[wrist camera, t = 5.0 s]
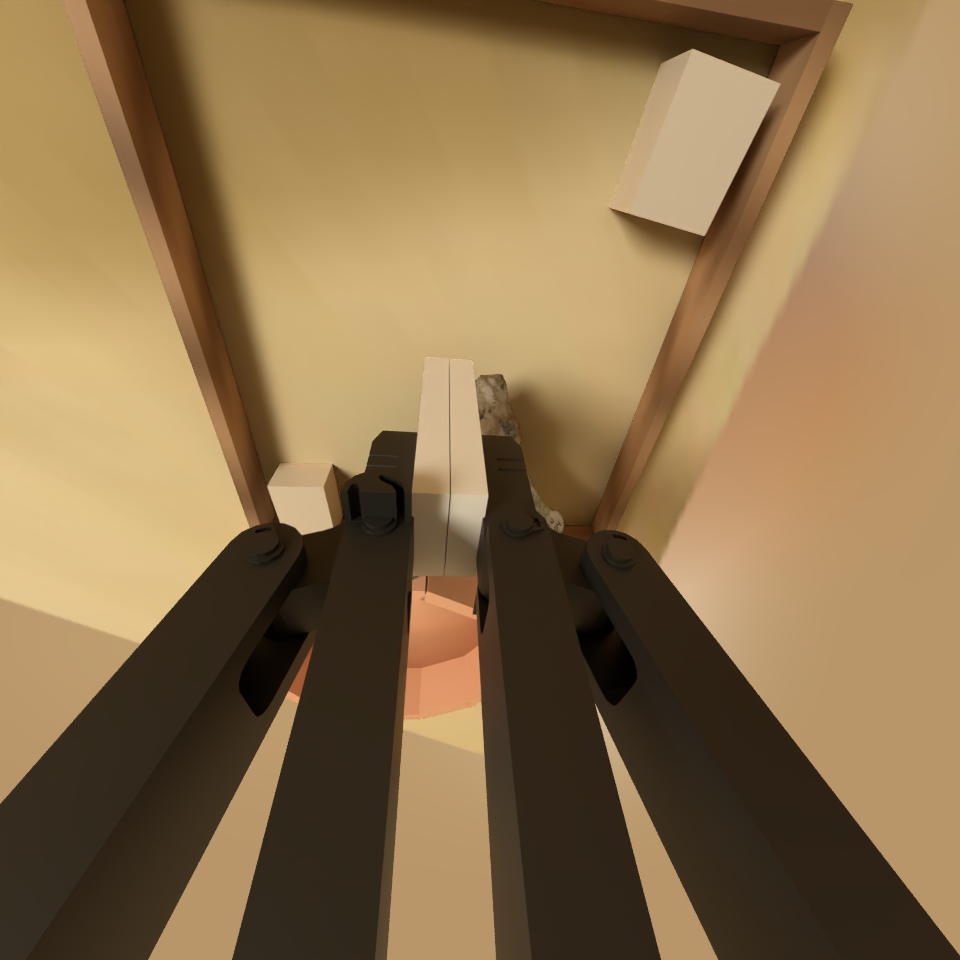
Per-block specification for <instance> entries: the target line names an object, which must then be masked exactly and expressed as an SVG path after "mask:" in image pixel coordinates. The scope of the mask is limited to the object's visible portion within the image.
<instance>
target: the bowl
mask: <svg viewBox="0 0 960 960" xmlns="http://www.w3.org/2000/svg"><path fill="white" fill-rule="evenodd" d="M477 585H478V579H477V568H476V574H475V577H459V576H444V575H443V576H420V577H418V578H416V579H414V580H412V605H411V619H410V633H409V647H408V662H407V676H406V690H405V704H404V719H403V720H410V719H421V718H422V719H425V718H429V717H433V716H437V715H441V714H445V713H449V712H453V711H457V710H461V709H465V708H469V707H472V706H475V705H476V704H478V703H479V702H481V684H480V667H479V650H478V632H477V615H472V614H473V608H474V602H475V597H476V591H477ZM313 645H314V643H313ZM313 645H312V647H311V649H310V651H309V653H308V655H307V657H306V659H305V661H304V663H303V664H302V666H301V668H300V670H299V672H298V674H297V676H296V678H295V680H294V682H293V684H292V685H291V687H290V689H289V691H288V693H287V695H286V697H285V698H287V699H289V700H291V701H293V702H294V703H297V704H298V703H299V699H300V695H301V691H302V687H303V684H304V680H305V676H306V672H307V668H308V664H309V660H310V656H311V653H312V649H313Z"/></svg>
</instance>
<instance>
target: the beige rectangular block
mask: <svg viewBox="0 0 960 960" xmlns="http://www.w3.org/2000/svg"><path fill="white" fill-rule="evenodd" d="M779 86H780V83H778V82H775V81H772V80H770V79H767V78H765V77H762V76H760V75H757V74H755V73H752V72H750V71H747V70H745V69H742V68H740V67H737V66H735V65H732V64H730V63H727V62H725V61H722V60H720V59H717V58H715V57H712V56H710V55H707V54H705V53H702V52H700V51H697V50H695V49H691V50H689V51H687V52H685V53H682V54H680V55H678V56H676V57H674V58H672V59H670V60H667V61H665V62H663V63H661V65H660V68H659V70H658V73H657V76H656V79H655V81H654V84H653V87H652V90H651V92H650V95H649V98H648V101H647V104H646V106H645V109H644V112H643V115H642V117H641V120H640V123H639V126H638V128H637V131H636V134H635V137H634V140H633V142H632V145H631V148H630V151H629V153H628V156H627V159H626V162H625V164H624V167H623V170H622V173H621V176H620V178H619V181H618V184H617V187H616V189H615V192H614V195H613V198H612V201H611V203H610V206H609V208H612V209H615V210H618V211H622V212H625V213H628V214H632V215H635V216H638V217H642V218H645V219H648V220H652V221H655V222H658V223H662V224H665V225H668V226H672V227H675V228H678V229H682V230H685V231H688V232H692V233H695V234H699V235H702V236H705V234H706V232H707V230H708V228H709V226H710V224H711V222H712V220H713V218H714V216H715V214H716V212H717V210H718V208H719V206H720V204H721V202H722V200H723V198H724V196H725V194H726V192H727V190H728V188H729V186H730V184H731V182H732V180H733V178H734V176H735V174H736V172H737V170H738V168H739V166H740V164H741V162H742V160H743V158H744V156H745V154H746V152H747V150H748V148H749V146H750V144H751V142H752V140H753V138H754V136H755V134H756V132H757V130H758V128H759V126H760V124H761V122H762V120H763V118H764V116H765V114H766V112H767V110H768V108H769V106H770V104H771V102H772V100H773V98H774V96H775V94H776V92H777V90H778V88H779Z"/></svg>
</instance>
